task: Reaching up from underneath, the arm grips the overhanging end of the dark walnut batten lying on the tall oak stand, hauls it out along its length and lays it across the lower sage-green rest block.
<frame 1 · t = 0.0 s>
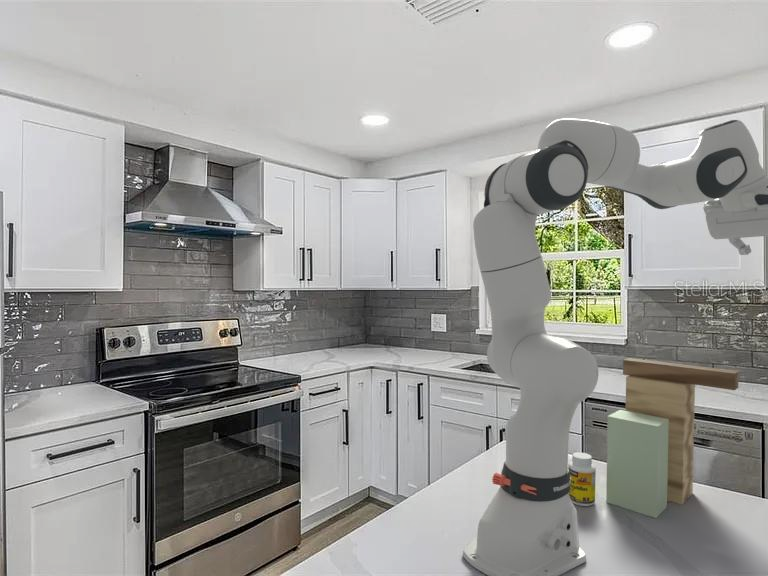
hand: (767, 253, 106), 54 cm above the countertop, tool tilted 30°, fingers open, 8 cm apart
supplement bottle: (581, 502, 109), on the countertop
stand: (658, 490, 115), on the countertop
rest block: (636, 504, 108), on the countertop
batten: (677, 380, 111), point 26 cm above the countertop, touching stand
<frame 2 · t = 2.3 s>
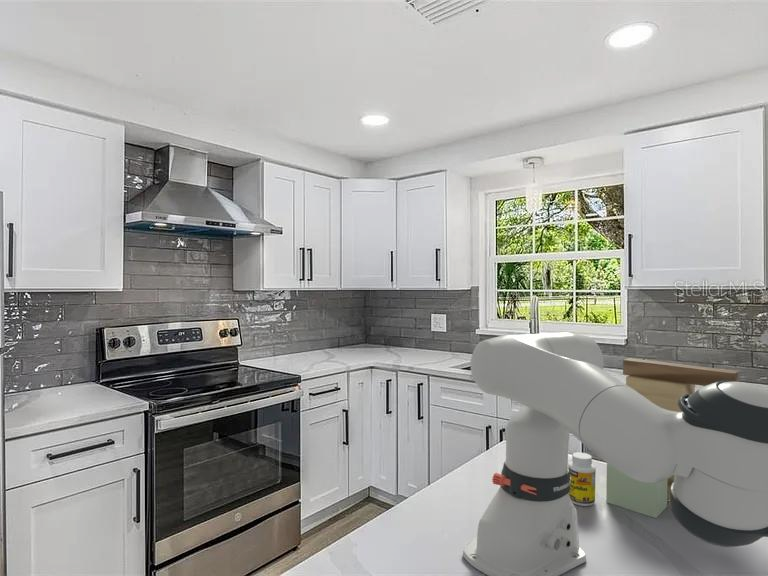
hand: (766, 333, 98), 38 cm above the countertop, tool pointing upward, fingers open, 8 cm apart
nothing on the countertop moved.
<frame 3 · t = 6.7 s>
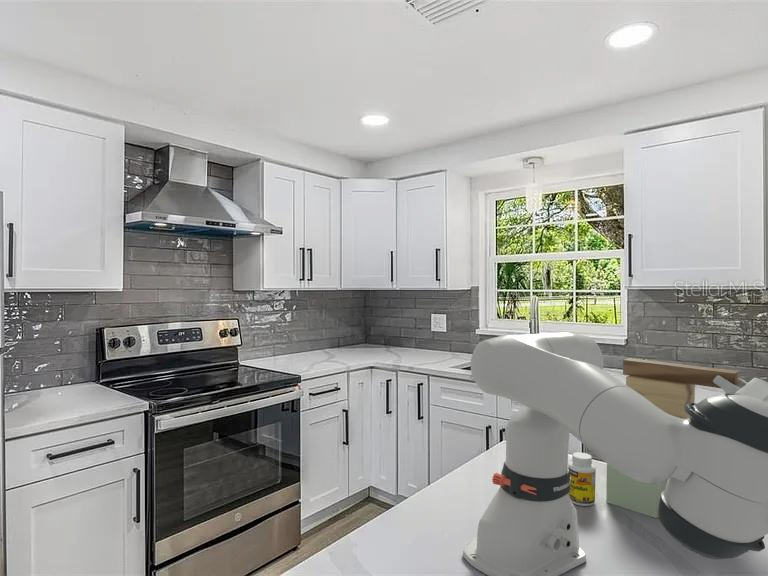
hand: (718, 375, 106), 28 cm above the countertop, tool pointing upward, fingers closed on batten, 3 cm apart
batten: (677, 380, 111), point 26 cm above the countertop, touching gripper, stand
everything else where it was.
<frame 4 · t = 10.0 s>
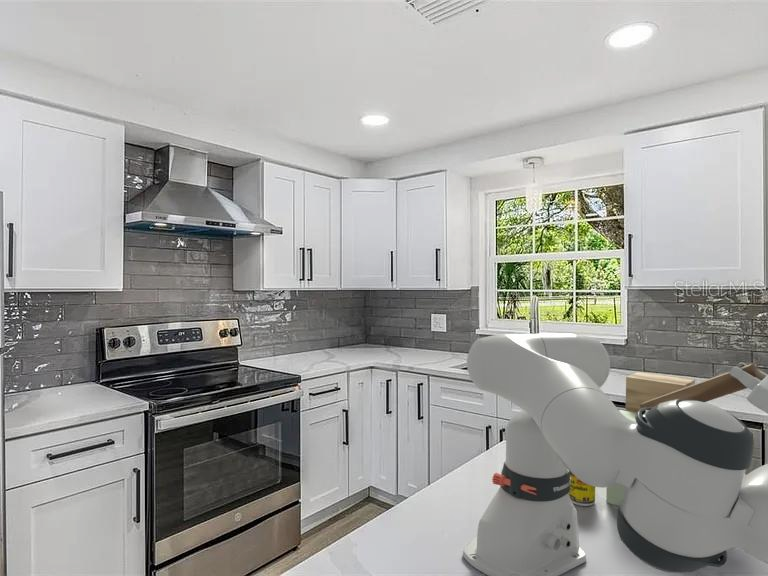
hand: (734, 367, 95), 32 cm above the countertop, tool pointing upward, fingers closed on batten, 4 cm apart
batten: (702, 401, 99), point 25 cm above the countertop, tilted 30°, touching gripper
everything else where it was.
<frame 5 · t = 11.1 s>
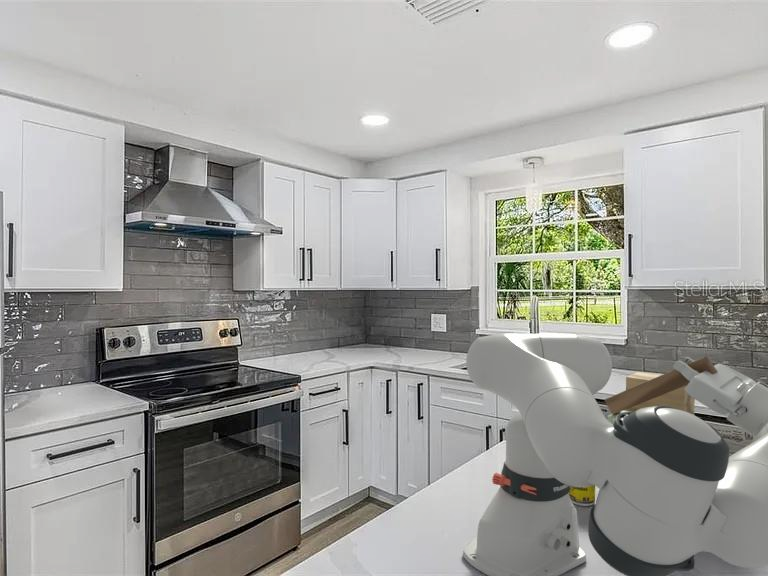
hand: (679, 361, 101), 32 cm above the countertop, tool pointing upward, fingers closed on batten, 3 cm apart
batten: (662, 394, 103), point 25 cm above the countertop, tilted 32°, touching gripper, rest block
everything else where it was.
when the fingers open (22 cm above the countertop, at t = 13.7 s): batten stays where it is, resting on rest block.
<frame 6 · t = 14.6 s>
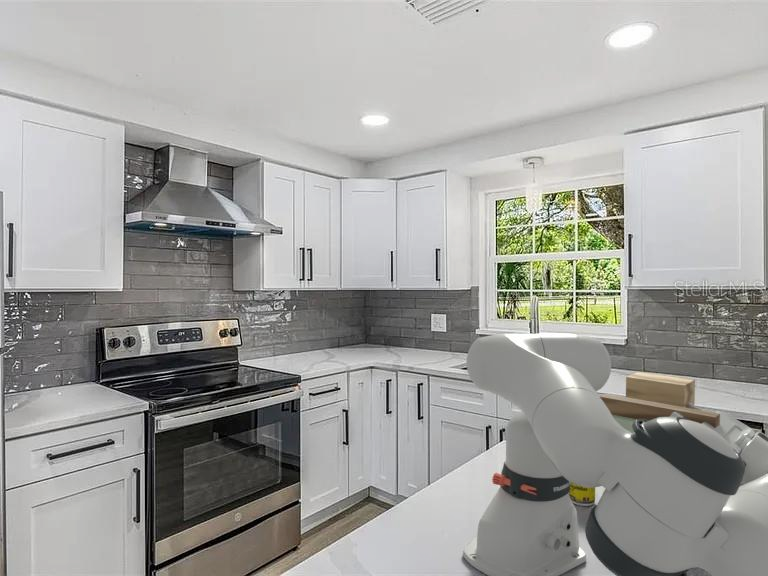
hand: (678, 409, 101), 22 cm above the countertop, tool pointing upward, fingers open, 8 cm apart
batten: (655, 421, 104), point 19 cm above the countertop, touching rest block
everything else where it was.
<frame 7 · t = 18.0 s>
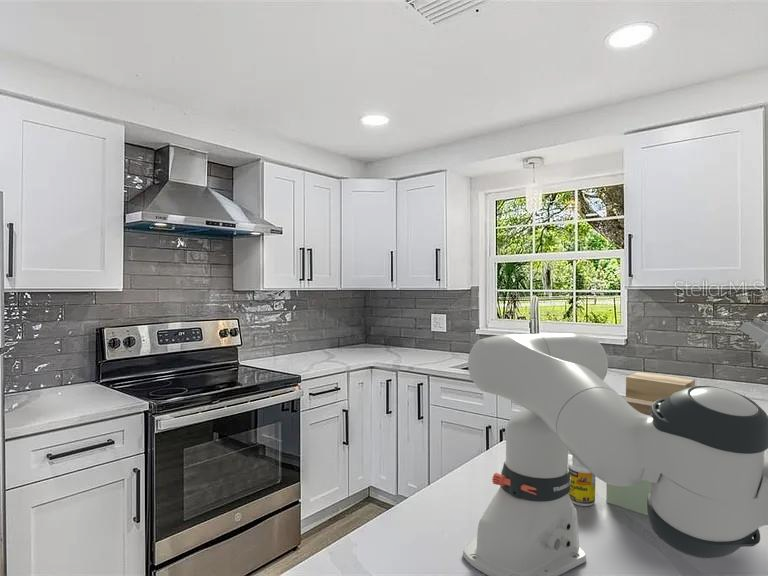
hand: (747, 323, 96), 40 cm above the countertop, tool pointing upward, fingers open, 8 cm apart
nothing on the countertop moved.
at the end: batten inside the target area on the rest block (3.5 cm from its centre), point 19.0 cm above the rest block's base; batten touching rest block; the gripper is holding nothing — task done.
